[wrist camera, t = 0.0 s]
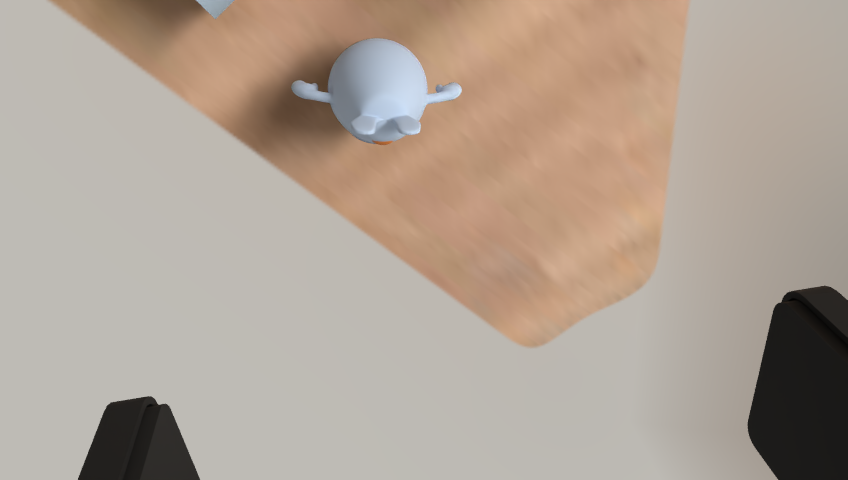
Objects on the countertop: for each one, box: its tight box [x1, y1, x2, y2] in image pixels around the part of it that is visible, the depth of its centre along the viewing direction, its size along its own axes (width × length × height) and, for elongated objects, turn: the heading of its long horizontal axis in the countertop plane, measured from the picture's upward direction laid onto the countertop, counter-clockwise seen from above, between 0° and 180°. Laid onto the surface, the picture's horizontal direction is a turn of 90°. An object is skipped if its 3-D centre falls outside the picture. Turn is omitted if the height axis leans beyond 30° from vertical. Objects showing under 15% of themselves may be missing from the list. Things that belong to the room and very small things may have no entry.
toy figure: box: [291, 38, 462, 145], centre depth 40 cm, size 11×6×12 cm, turn 87°
